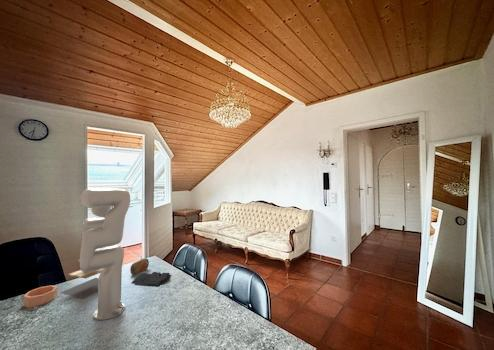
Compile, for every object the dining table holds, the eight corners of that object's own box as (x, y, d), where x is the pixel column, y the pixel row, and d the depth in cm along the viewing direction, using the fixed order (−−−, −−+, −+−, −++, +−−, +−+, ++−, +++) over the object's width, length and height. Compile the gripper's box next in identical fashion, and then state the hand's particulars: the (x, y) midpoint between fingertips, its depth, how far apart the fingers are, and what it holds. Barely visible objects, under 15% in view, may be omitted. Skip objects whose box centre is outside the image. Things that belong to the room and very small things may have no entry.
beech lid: (111, 268, 129) (111, 258, 130) (85, 278, 115) (85, 267, 116) (94, 266, 135) (95, 256, 135) (68, 275, 120) (68, 265, 121)
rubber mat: (117, 283, 131) (117, 282, 131) (83, 299, 112) (83, 298, 112) (95, 278, 138) (95, 277, 138) (59, 293, 119) (59, 292, 119)
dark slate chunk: (143, 275, 144) (143, 268, 144) (173, 276, 141) (173, 269, 141) (128, 285, 128) (128, 278, 129) (161, 287, 126) (161, 279, 126)
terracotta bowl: (61, 296, 115) (61, 287, 116) (32, 309, 104) (33, 298, 104) (47, 293, 120) (48, 284, 120) (19, 304, 108) (19, 294, 108)
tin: (132, 277, 139) (133, 264, 140) (129, 276, 140) (129, 264, 141) (149, 268, 154) (149, 256, 154) (145, 268, 155) (145, 256, 155)
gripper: (80, 242, 117) (79, 275, 116) (108, 235, 133) (108, 265, 132) (71, 241, 120) (70, 274, 118) (100, 235, 135) (100, 263, 134)
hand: (90, 269), depth 125 cm, fingers closed on beech lid, 4 cm apart
